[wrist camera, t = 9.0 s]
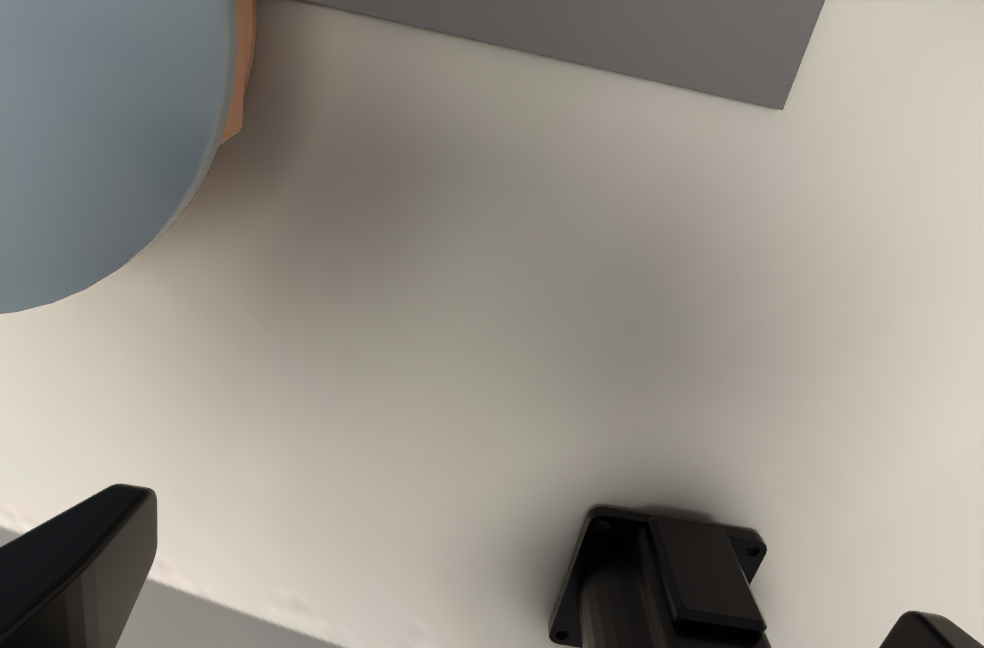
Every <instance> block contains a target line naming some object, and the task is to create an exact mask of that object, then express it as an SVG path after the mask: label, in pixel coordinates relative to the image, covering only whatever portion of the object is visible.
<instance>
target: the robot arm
mask: <svg viewBox="0 0 984 648" xmlns="http://www.w3.org/2000/svg"><path fill="white" fill-rule="evenodd" d="M599 521H606V522H605V523H603V524H597V522H599ZM750 546H753V547H751V548H748V547H750ZM156 550H157V497H156V494H155V492H154V491H153V490H152V489H150V488H146V487H140V486H134V485H128V484H115V485H112V486H109V487H107V488H106V489H104V490H102V491H100V492H98V493H97V494H95V495H93V496H91V497H89V498H88V499H86V500H84V501H82V502H80V503H79V504H77V505H75V506H73V507H71V508H70V509H68V510H66V511H64V512H62V513H61V514H59V515H57V516H55V517H53V518H52V519H50V520H48V521H46V522H44V523H43V524H41V525H39V526H37V527H35V528H34V529H32V530H30V531H28V532H26V533H25V534H23V535H21V536H19V537H18V538H16V539H14V540H12V541H10V542H9V543H7V544H5V545H3V546H1V547H0V648H115V647H116V645H117V643H118V640H119V638H120V636H121V634H122V631H123V629H124V627H125V625H126V622H127V620H128V618H129V616H130V614H131V611H132V609H133V607H134V605H135V602H136V600H137V598H138V596H139V593H140V591H141V589H142V587H143V584H144V582H145V580H146V578H147V575H148V573H149V571H150V569H151V566H152V564H153V561H154V558H155V554H156ZM766 551H767V548H766V545H765V543H764V541H763V539H762V537H761V536H760V535H759V534H757V533H754V532H748V531H742V530H736V529H730V528H724V527H718V526H712V525H706V524H700V523H694V522H688V521H682V520H676V519H670V518H664V517H658V516H652V515H647V514H641V513H635V512H629V511H623V510H617V509H611V508H605V507H599V508H596V509H593V510H592V511H590V512H589V514H588V515H587V517H586V520H585V523H584V526H583V529H582V532H581V534H580V537H579V540H578V543H577V546H576V549H575V551H574V554H573V557H572V560H571V563H570V566H569V568H568V571H567V574H566V577H565V580H564V583H563V585H562V588H561V591H560V594H559V597H558V600H557V602H556V605H555V608H554V611H553V614H552V617H551V619H550V622H549V627H548V629H549V637H550V639H551V641H553V642H554V643H557V644H561V645H568V646H574V647H581V648H772V647H771V645H770V643H769V640H768V638H767V636H766V633H765V630H766V628H767V625H766V622H765V620H764V617H763V615H762V613H761V611H760V608H759V606H758V604H757V602H756V599H755V597H754V595H753V593H752V590H751V588H750V586H749V585H750V583H751V581H752V579H753V577H754V575H755V574H756V572H757V570H758V568H759V566H760V564H761V562H762V560H763V558H764V556H765V554H766ZM879 648H984V646H983V645H982V644H980V643H979V642H978V641H976V640H975V639H974V638H972V637H971V636H970V635H968V634H967V633H966V632H965V631H963V630H962V629H961V628H959V627H958V626H957V625H955V624H954V623H953V622H951V621H950V620H949V619H947V618H945V617H943V616H941V615H937V614H932V613H925V612H919V611H908V612H906V613H904V614H902V616H901V617H900V618H899V619H898V621H897V622H896V624H895V625H894V627H893V628H892V630H891V631H890V633H889V634H888V636H887V637H886V638H885V640H884V641H883V643H882V644H881V646H880V647H879Z"/></svg>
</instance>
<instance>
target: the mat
mask: <svg viewBox="0 0 984 648" xmlns="http://www.w3.org/2000/svg"><path fill="white" fill-rule="evenodd" d="M305 1H309V2H313V3H318V4H322V5H327V6H331V7H335V8H340V9H344V10H348V11H353V12H357V13H361V14H366V15H370V16H374V17H379V18H383V19H387V20H392V21H396V22H401V23H405V24H409V25H414V26H418V27H422V28H427V29H431V30H435V31H440V32H444V33H448V34H453V35H457V36H461V37H466V38H470V39H475V40H479V41H483V42H488V43H492V44H496V45H501V46H505V47H509V48H514V49H518V50H522V51H527V52H531V53H535V54H540V55H544V56H549V57H553V58H557V59H562V60H566V61H570V62H575V63H579V64H583V65H588V66H592V67H596V68H601V69H605V70H609V71H614V72H618V73H623V74H627V75H631V76H636V77H640V78H644V79H649V80H653V81H657V82H662V83H666V84H670V85H675V86H679V87H683V88H688V89H692V90H696V91H701V92H705V93H710V94H714V95H718V96H723V97H727V98H731V99H736V100H740V101H744V102H749V103H753V104H757V105H762V106H766V107H770V108H775V109H779V110H783V108H784V105H785V102H786V100H787V97H788V95H789V92H790V90H791V87H792V84H793V82H794V79H795V77H796V74H797V71H798V69H799V66H800V64H801V61H802V58H803V56H804V53H805V51H806V48H807V45H808V43H809V40H810V38H811V35H812V32H813V30H814V27H815V25H816V22H817V19H818V17H819V14H820V12H821V9H822V7H823V4H824V1H825V0H305Z"/></svg>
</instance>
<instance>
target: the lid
mask: <svg viewBox="0 0 984 648" xmlns="http://www.w3.org/2000/svg"><path fill="white" fill-rule="evenodd" d="M237 53H238V39H237V0H0V314H2V313H11V312H18V311H22V310H26V309H30V308H34V307H38V306H42V305H46V304H49V303H53V302H56V301H58V300H60V299H63V298H65V297H68V296H70V295H72V294H75V293H77V292H80V291H82V290H84V289H87V288H88V287H90V286H92V285H93V284H95V283H96V282H98V281H100V280H101V279H103V278H105V277H106V276H108V275H110V274H111V273H113V272H114V271H116V270H118V269H119V268H120V267H122V266H123V265H125V264H126V263H127V262H129V261H130V260H132V259H133V258H135V257H136V256H137V255H139V254H140V253H141V252H143V251H144V250H145V249H146V248H147V247H148V246H150V245H151V244H152V243H153V242H154V241H155V240H156V239H158V238H159V237H160V236H161V235H162V234H163V233H165V232H166V231H167V230H168V229H169V227H170V226H171V225H172V224H173V223H174V221H175V220H176V219H177V218H178V217H179V215H180V214H181V213H182V212H183V211H184V210H185V208H186V207H187V206H188V205H189V204H190V202H191V200H192V198H193V197H194V195H195V193H196V192H197V190H198V188H199V187H200V185H201V183H202V182H203V180H204V178H205V177H206V175H207V173H208V172H209V169H210V167H211V164H212V162H213V159H214V157H215V154H216V152H217V150H218V147H219V145H220V142H221V140H222V137H223V134H224V130H225V126H226V122H227V118H228V114H229V110H230V105H231V101H232V97H233V91H234V81H235V72H236V62H237Z"/></svg>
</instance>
